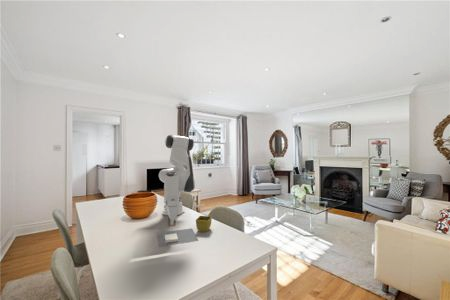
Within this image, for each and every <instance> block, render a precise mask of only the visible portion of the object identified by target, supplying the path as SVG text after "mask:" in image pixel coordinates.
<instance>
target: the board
mask: <svg viewBox="0 0 450 300" xmlns="http://www.w3.org/2000/svg"><path fill="white" fill-rule="evenodd" d="M175 233H176V234H177V237H178V241H175V242H168V243H165V235H168V234H175ZM157 236H158V247H166V246H171V245H172V246H173V245H179V244H181V245H182V244H187V243H193V242H199V239H198V237H197V235H196V233H195V232H194V229H193V228H191V227H190V228H186V229H185V228H184V229H177V230H169V231H160V232H158V233H157Z"/></svg>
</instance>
